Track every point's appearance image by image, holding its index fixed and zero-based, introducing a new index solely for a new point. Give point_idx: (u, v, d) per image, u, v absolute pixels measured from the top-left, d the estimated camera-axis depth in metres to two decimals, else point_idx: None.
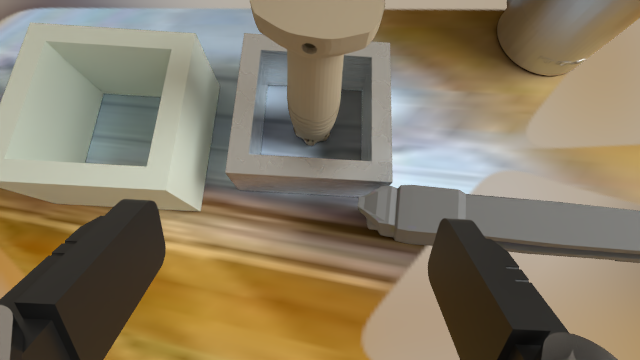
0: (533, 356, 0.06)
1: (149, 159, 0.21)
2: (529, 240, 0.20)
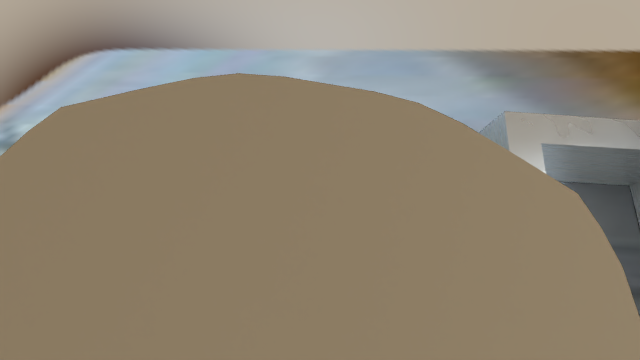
0: None
1: None
2: None
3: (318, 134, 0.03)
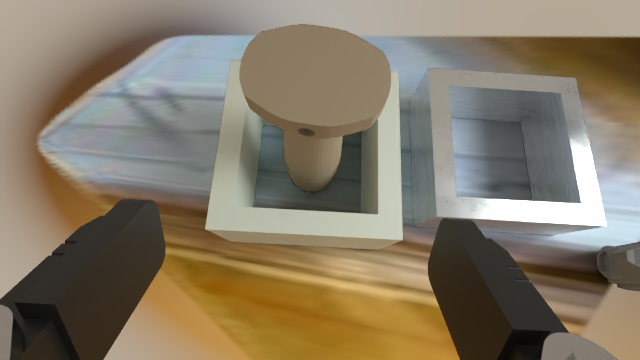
0: (533, 356, 0.06)
1: (379, 206, 0.20)
2: None
3: (322, 38, 0.14)
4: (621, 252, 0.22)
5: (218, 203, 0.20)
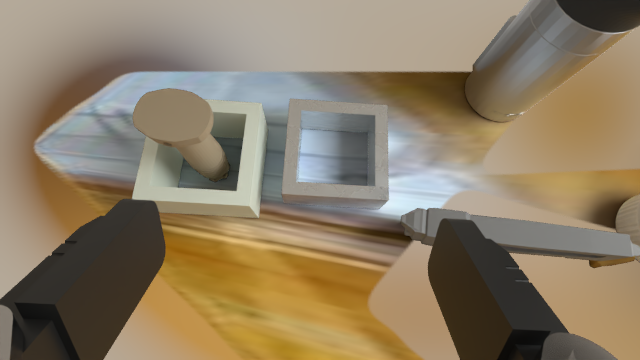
0: (533, 356, 0.06)
1: (237, 186, 0.34)
2: (509, 244, 0.33)
3: (177, 95, 0.28)
4: None
5: (140, 184, 0.34)
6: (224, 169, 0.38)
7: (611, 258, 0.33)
